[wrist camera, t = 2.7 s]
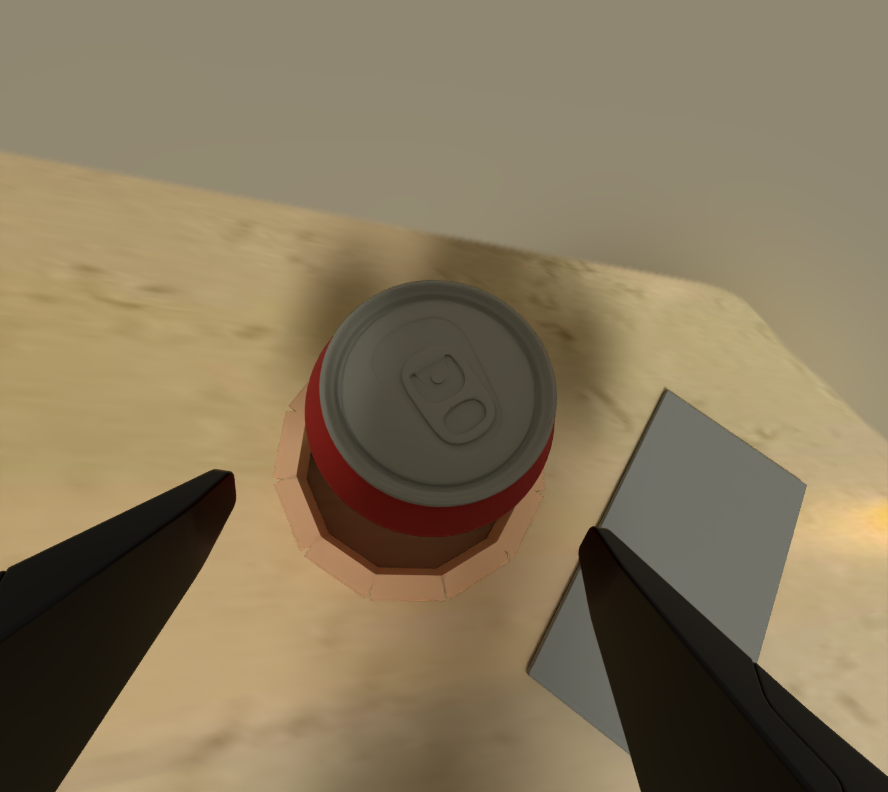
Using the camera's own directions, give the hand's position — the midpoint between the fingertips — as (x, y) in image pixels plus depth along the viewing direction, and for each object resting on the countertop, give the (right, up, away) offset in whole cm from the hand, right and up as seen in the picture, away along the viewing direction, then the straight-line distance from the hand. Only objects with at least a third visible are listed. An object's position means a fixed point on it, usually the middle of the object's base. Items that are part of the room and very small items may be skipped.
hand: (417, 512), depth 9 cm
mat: (+14, -6, +10) cm, 18 cm away
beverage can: (-1, 0, +11) cm, 11 cm away
